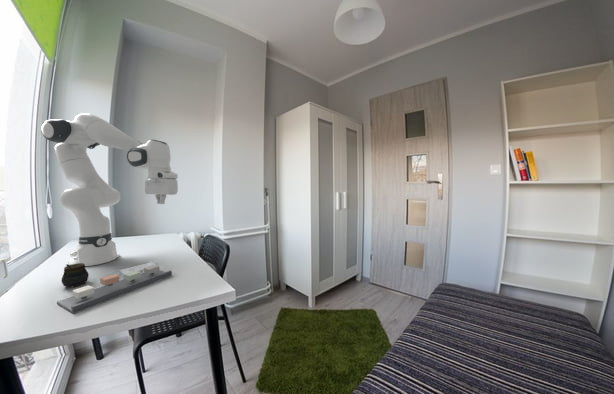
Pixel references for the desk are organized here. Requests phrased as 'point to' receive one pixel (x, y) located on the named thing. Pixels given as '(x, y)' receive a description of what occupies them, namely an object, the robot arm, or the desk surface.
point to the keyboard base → (111, 291)
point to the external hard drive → (136, 268)
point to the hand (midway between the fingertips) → (161, 203)
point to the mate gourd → (74, 275)
